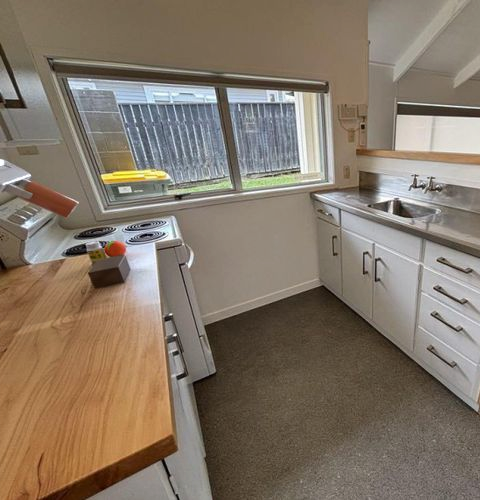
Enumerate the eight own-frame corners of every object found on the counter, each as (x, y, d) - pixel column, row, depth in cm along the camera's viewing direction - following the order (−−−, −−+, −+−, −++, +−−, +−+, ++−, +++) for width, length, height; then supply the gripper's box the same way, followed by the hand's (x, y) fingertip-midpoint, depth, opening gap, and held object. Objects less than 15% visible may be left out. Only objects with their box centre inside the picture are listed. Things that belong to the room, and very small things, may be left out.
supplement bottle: (90, 266, 109) (81, 245, 106) (94, 261, 113) (86, 242, 110) (105, 263, 111) (97, 243, 108) (109, 259, 115) (101, 239, 112)
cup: (15, 199, 79) (27, 182, 80) (23, 195, 84) (35, 179, 84) (64, 220, 86) (76, 204, 86) (69, 215, 91) (80, 200, 91)
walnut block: (94, 289, 92) (87, 272, 90) (104, 274, 102) (97, 259, 99) (124, 282, 95) (118, 266, 93) (130, 269, 105) (125, 254, 103)
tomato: (122, 260, 113) (116, 243, 111) (102, 262, 112) (95, 246, 109) (131, 252, 121) (125, 237, 118) (113, 255, 119) (106, 239, 116)
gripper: (-49, 157, 67) (29, 191, 75) (-6, 151, 83) (54, 180, 91) (-65, 178, 67) (14, 210, 75) (-19, 168, 83) (42, 196, 91)
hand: (36, 194), depth 83 cm, fingers closed on cup, 6 cm apart
